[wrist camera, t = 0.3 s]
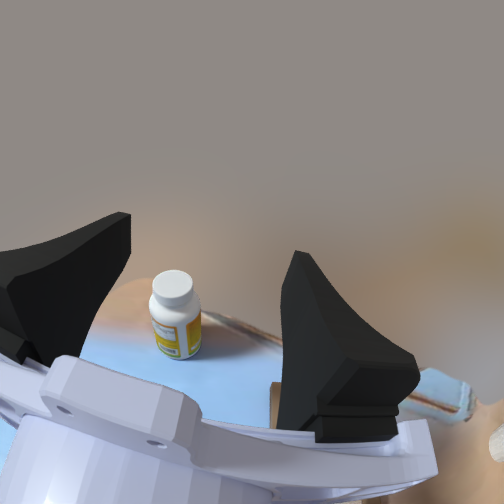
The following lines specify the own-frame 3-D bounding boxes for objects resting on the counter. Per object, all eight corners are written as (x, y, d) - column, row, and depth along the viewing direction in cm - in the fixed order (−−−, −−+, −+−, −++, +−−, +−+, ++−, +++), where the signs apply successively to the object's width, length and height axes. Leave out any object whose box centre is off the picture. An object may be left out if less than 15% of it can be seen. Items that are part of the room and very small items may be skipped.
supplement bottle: (194, 321, 36) (192, 261, 30) (207, 355, 32) (207, 296, 26) (153, 329, 34) (141, 269, 28) (162, 365, 30) (149, 307, 24)
